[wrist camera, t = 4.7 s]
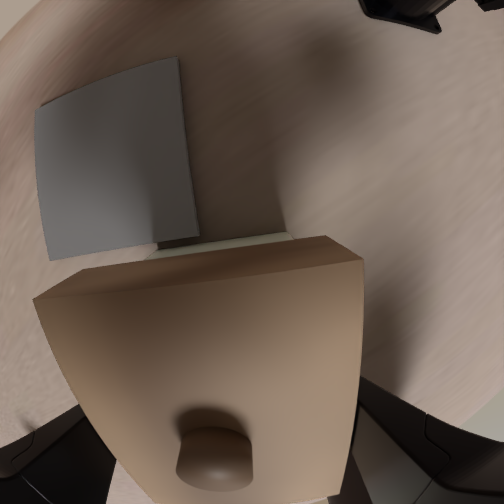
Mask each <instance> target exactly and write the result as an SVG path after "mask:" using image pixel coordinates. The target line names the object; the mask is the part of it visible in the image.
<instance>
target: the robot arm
mask: <svg viewBox="0 0 504 504" xmlns="http://www.w3.org/2000/svg"><path fill="white" fill-rule="evenodd" d="M454 1H456V0H360V2H361V5H362V7H363V9H364V12H365V14H366V15H367V16H369V17H370V18H373V19H379V20H384V21H389V22H393V23H398V24H402V25H406V26H410V27H414V28H417V29H421V30H424V31H427V32H431V33H434V34H439V33H440V32H441V31H442V30H441V27H440V25H439V23H438V20H437V18H436V16H435V15H437V14H438V13H439V12H441V11H442V10H443V9H445V8H446V7H447V6H449V5H450V4H451V3H453V2H454ZM474 1H475V2H476V3H478V6H479V7H480V8H481V9H482V10H483V11H484V12H486V11H490V10H497V9H501V8H504V0H474ZM371 11H373V12H374V13H373V12H371ZM350 449H351V452H352V454H353V456H354V459H355V461H356V464H357V466H358V468H359V471H360V473H361V476H362V478H363V481H364V483H365V486H366V488H367V490H368V493H369V495H370V498H371V500H372V503H373V504H504V442H499V441H495V440H492V439H489V438H486V437H482V436H480V435H477V434H474V433H470V432H468V431H465V430H462V429H459V428H457V427H455V426H452V425H450V424H448V423H446V422H444V421H441V420H439V419H437V418H435V417H433V416H432V415H430V414H426V412H424V411H422V410H420V409H418V408H417V407H415V406H413V405H411V404H409V403H407V402H406V401H404V400H402V399H400V398H398V397H397V396H395V395H393V394H391V393H390V392H388V391H386V390H384V389H383V388H381V387H379V386H377V385H376V384H374V383H372V382H371V381H369V380H367V379H366V378H364V377H362V376H360V377H359V387H358V396H357V404H356V411H355V418H354V425H353V431H352V437H351V442H350ZM116 460H117V459H116V458H115V456H114V455H113V454H112V453H111V451H110V450H109V448H108V447H107V446H106V444H105V443H104V442H103V440H102V439H101V437H100V436H99V434H98V433H97V431H96V430H95V428H94V427H93V425H92V424H91V422H90V421H89V419H88V418H87V416H86V414H85V413H84V411H83V409H82V408H81V406H80V404H78V405H76V406H75V407H73V408H71V409H70V410H68V411H66V412H65V413H63V414H61V415H60V416H58V417H56V418H55V419H53V420H52V421H50V422H48V423H47V424H45V425H43V426H41V427H40V428H38V429H36V430H35V431H33V432H31V433H29V434H28V435H26V436H24V437H22V438H20V439H19V440H17V441H15V442H13V443H10V444H8V445H6V446H4V447H2V448H0V504H106V501H107V497H108V492H109V488H110V484H111V480H112V476H113V472H114V468H115V464H116Z"/></svg>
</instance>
